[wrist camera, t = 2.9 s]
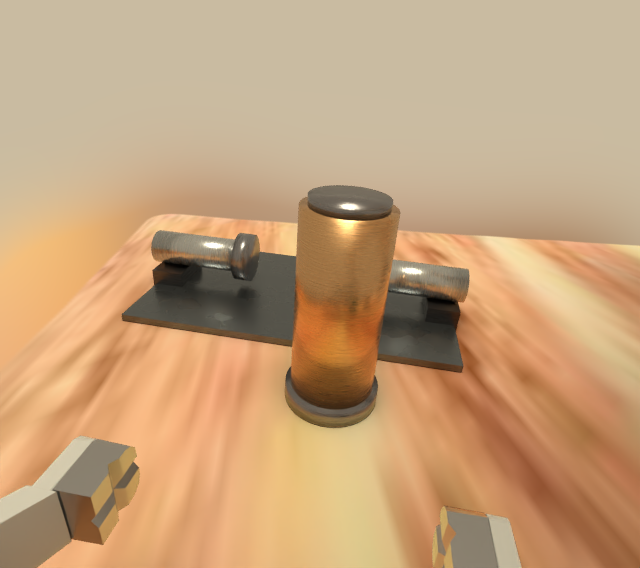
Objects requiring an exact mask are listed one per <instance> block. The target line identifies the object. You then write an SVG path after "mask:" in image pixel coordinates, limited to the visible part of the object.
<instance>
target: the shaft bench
mask: <svg viewBox="0 0 640 568" xmlns="http://www.w3.org/2000/svg"><path fill="white" fill-rule="evenodd" d="M151 250H152V256H153V258H154V259H155V260H156V261H159V262H162V263H161V264H160V265H158V266H157V267H156V268H155V269H153V278H154V286H153V287H152V288H151V289H150V290H149V291H148V292H147V293H145V294H144V295H143V296H142V297H141V298H140V299H139V300H137V301H136V302H135V303H134V304H133V305H132V306H131V307H130V308H128V309H127V310H126V311H125V312H124V313H123V314H122V320H123V321H130V322H136V323H143V324H149V325H156V326H162V327H169V328H176V329H182V330H189V331H195V332H202V333H208V334H215V335H221V336H228V337H234V338H241V339H247V340H254V341H260V342H267V343H273V344H280V345H287V346H292V342H293V321H294V299H295V277H296V256H288V255H281V254H273V253H265V252H260V245H259V239H258V237H257V235H252V234H244V233H240V234H238V236H237V237H236V239H235V240H233V239H225V238H217V237H209V236H201V235H193V234H185V233H177V232H169V231H161V230H160V231H158V232H157V233H156V234H155V235H154V237H153V241H152V247H151ZM468 287H469V270H468V269H463V268H455V267H447V266H439V265H431V264H423V263H416V262H408V261H400V260H393V262H392V268H391V274H390V281H389V287H388V293H387V299H386V306H385V312H384V318H383V324H382V331H381V337H380V343H379V349H378V356H377V359H378V360H384V361H391V362H398V363H404V364H411V365H417V366H424V367H430V368H437V369H443V370H450V371H456V372H462V369H463V363H462V358H461V354H460V349H459V345H458V340H457V336H456V328H457V324H458V320H459V316H460V309H459V305H458V302H464V301H465V299H466V296H467V292H468Z"/></svg>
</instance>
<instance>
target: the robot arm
mask: <svg viewBox="0 0 640 568" xmlns="http://www.w3.org/2000/svg"><path fill="white" fill-rule="evenodd" d="M136 457H137V454H136V450H135V447H131V446H127V445H122V444H118V443H113V442H109V441H104V440H99V439H95V438H90V437H85V436H79V437H77V438H76V439H74V440H73V441H72V442H71V443H70V444H69V445H68V446H67V447H66V449H65V450H64V451H63V452H62V453H61V454H60V455H59V456H58V458H57V459H56V460H55V461H54V462H53V463H52V464H51V465H50V466H49V468H48V469H47V470H46V471H45V472H44V473H43V474H42V475H41V476H40V478H39V479H38V480H37V481H36V482H35V483H34V484H33V485H32V486H28V485H26V486H24V487H22V488H20V489H18V490H16V491H15V492H13V493H11V494H9V495H7V496H5V497H3V498H1V499H0V568H37V567H38V566H40V565H41V564H42V563H43V562H45V561H46V560H47V559H49V558H50V557H51V556H53V555H54V554H55V553H57V552H58V551H59V550H61V549H62V548H63V547H65V546H66V545H67V544H69V543H70V542H71V541H72V540H71V539H74V540H79V541H84V542H90V543H95V544H100V545H104V543H105V541H106V540H107V538H108V537H109V535H110V534H111V532H112V530H113V529H114V527H115V526H116V524H117V522H118V521H119V516H118V511H119V510H121V509H123V508H124V507H126V506H127V505H129V503H130V502H131V500H132V498H133V497H134V495H135V492H136V490H137V487H138V484H139V478H140V472H139V467H138V466H137V465H136V464H135V463H134V462H133V461H134V460H135V458H136ZM432 559H433V568H522V566H521V562H520V559H519V555H518V551H517V547H516V543H515V539H514V535H513V531H512V528H511V524H510V522H509V520H508V519H507V518H505V517H500V516H495V515H489V514H484V513H482V512H476V511H471V510H465V509H459V508H454V507H448V506H444V507H443V508H442V510H441V513H440V525H438V526H436V529H435V533H434V537H433V546H432Z"/></svg>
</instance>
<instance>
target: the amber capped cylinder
mask: <svg viewBox="0 0 640 568" xmlns="http://www.w3.org/2000/svg"><path fill="white" fill-rule="evenodd" d="M399 218H400V211H399V209H398V208H397V207H396V206H395V205H393V199H392V198H391V197H390V196H388V195H387V194H384V193H382V192H379V191H376V190H372V189H368V188H363V187H355V186H338V185H336V186H323V187H318V188H314V189H312V190H310V191H309V192H308V197H305V198H303V199H302V200H301V201H300V202H299V211H298V233H297V255H296V277H295V299H294V321H293V342H292V364H291V367H290V368H289V370H288V372H287V374H286V383H285V397H286V401H287V403H288V405H289V407H290V408H291V410H292V411H293V412H294V413H295V414H296V415H298V416H299V417H300V418H302V419H303V420H305V421H307V422H309V423H312V424H315V425H319V426H323V427H332V428H337V427H346V426H350V425H354V424H356V423H358V422H360V421H362V420H364V419H365V418H366V417H367V416H368V415H369V414H370V413H371V412H372V410H373V408H374V406H375V401H376V395H377V389H378V384H377V380H376V377H375V368H376V362H377V356H378V349H379V343H380V337H381V331H382V324H383V318H384V312H385V306H386V299H387V293H388V287H389V281H390V274H391V268H392V262H393V255H394V249H395V243H396V237H397V230H398V223H399Z"/></svg>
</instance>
